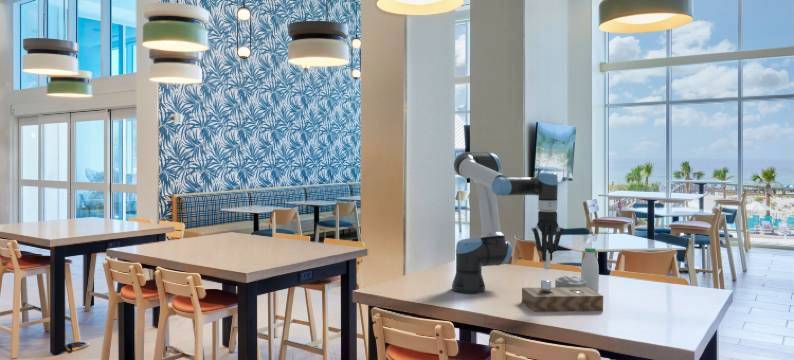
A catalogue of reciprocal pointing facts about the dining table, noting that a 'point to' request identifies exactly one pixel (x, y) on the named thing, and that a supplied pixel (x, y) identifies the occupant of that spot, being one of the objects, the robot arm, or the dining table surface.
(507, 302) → the dining table surface
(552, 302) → the walnut block
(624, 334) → the dining table surface
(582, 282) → the lumpy-topped squat cylinder
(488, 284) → the dining table surface
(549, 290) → the steel peg
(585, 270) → the milk bottle
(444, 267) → the dining table surface
